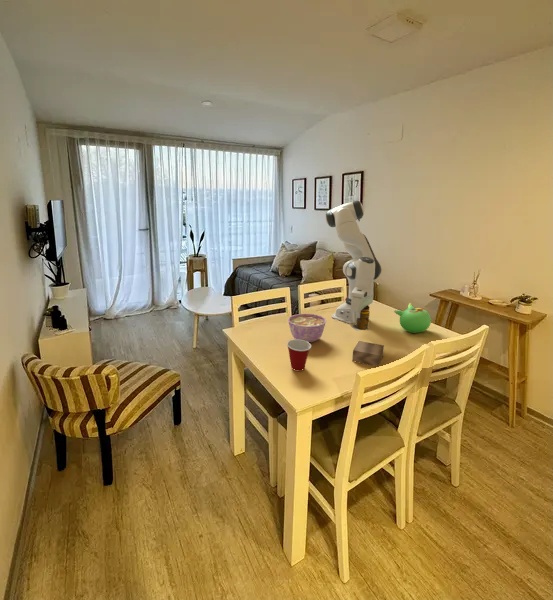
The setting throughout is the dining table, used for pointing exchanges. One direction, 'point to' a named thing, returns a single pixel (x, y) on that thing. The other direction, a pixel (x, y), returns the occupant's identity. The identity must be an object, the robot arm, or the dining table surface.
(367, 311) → the condiment
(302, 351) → the plastic cup
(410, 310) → the toy bird
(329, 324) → the dining table surface
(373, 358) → the walnut block
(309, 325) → the bowl of food
